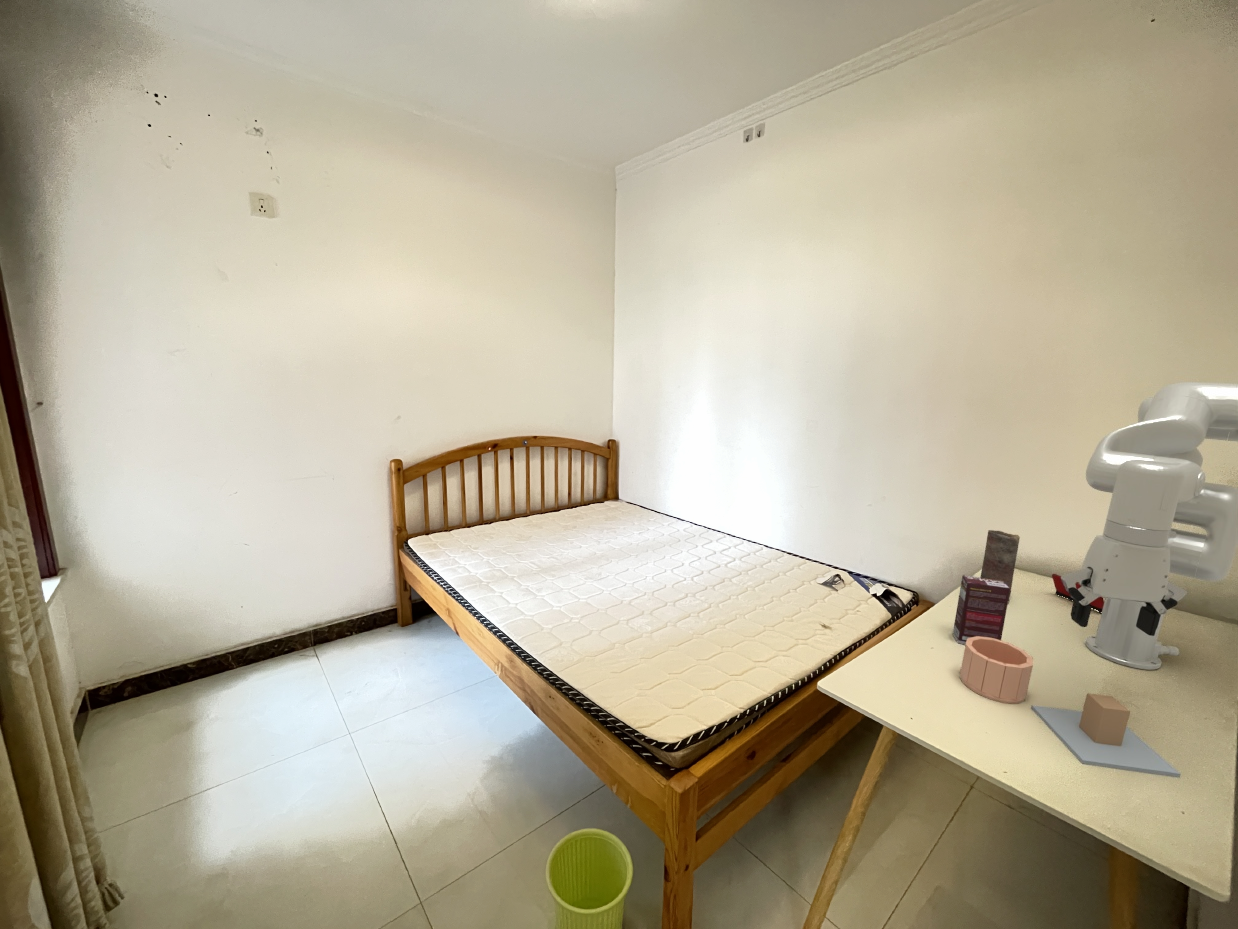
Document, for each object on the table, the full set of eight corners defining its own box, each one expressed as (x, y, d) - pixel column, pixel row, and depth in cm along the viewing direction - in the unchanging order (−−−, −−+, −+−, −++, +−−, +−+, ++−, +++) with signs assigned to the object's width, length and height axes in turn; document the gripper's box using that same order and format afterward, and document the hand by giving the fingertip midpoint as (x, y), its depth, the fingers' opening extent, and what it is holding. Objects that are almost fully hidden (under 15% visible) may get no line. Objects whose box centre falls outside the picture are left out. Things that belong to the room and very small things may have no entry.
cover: (1112, 720, 95) (1122, 682, 94) (1178, 780, 82) (1191, 736, 80) (1030, 710, 98) (1038, 673, 96) (1081, 766, 84) (1092, 723, 82)
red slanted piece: (1123, 613, 138) (1130, 588, 136) (1094, 617, 135) (1100, 591, 133) (1073, 592, 149) (1078, 569, 148) (1045, 595, 147) (1051, 572, 145)
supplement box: (991, 640, 121) (1004, 579, 118) (999, 651, 117) (1012, 588, 114) (950, 633, 124) (961, 574, 121) (956, 643, 120) (968, 582, 116)
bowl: (1006, 673, 108) (1013, 640, 107) (1037, 707, 98) (1046, 670, 96) (950, 666, 110) (956, 634, 109) (975, 699, 100) (982, 663, 98)
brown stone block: (970, 592, 147) (982, 528, 143) (993, 592, 148) (1006, 528, 144) (991, 605, 140) (1004, 537, 135) (1015, 604, 140) (1029, 537, 136)
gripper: (1179, 532, 85) (1154, 624, 89) (1060, 522, 89) (1041, 610, 93) (1219, 547, 78) (1190, 647, 82) (1088, 535, 82) (1066, 630, 85)
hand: (1111, 627), depth 87 cm, fingers open, 9 cm apart
